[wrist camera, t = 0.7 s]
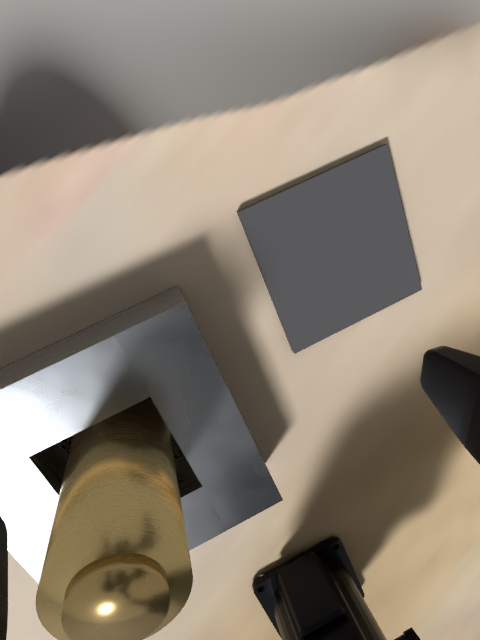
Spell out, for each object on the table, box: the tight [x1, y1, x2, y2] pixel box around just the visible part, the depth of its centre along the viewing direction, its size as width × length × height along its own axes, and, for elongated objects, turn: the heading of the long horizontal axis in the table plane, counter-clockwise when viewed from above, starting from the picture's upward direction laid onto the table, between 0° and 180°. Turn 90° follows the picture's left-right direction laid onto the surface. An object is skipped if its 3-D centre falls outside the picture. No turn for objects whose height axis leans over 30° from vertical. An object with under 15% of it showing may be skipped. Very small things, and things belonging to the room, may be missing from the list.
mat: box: [237, 144, 422, 353], centre depth 21 cm, size 8×8×1 cm
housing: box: [0, 286, 283, 584], centre depth 20 cm, size 12×12×3 cm
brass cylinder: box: [36, 399, 193, 640], centre depth 17 cm, size 5×5×10 cm
